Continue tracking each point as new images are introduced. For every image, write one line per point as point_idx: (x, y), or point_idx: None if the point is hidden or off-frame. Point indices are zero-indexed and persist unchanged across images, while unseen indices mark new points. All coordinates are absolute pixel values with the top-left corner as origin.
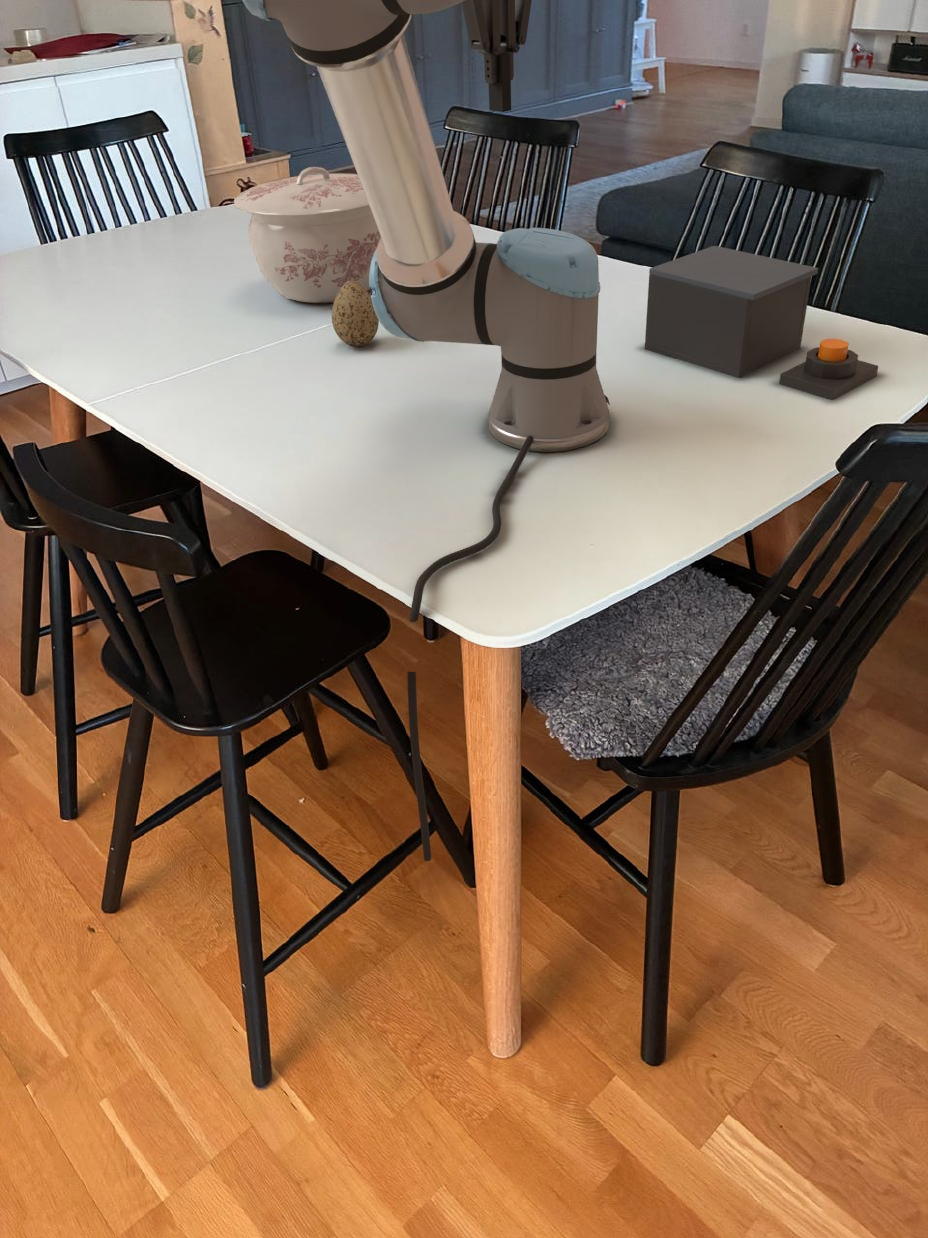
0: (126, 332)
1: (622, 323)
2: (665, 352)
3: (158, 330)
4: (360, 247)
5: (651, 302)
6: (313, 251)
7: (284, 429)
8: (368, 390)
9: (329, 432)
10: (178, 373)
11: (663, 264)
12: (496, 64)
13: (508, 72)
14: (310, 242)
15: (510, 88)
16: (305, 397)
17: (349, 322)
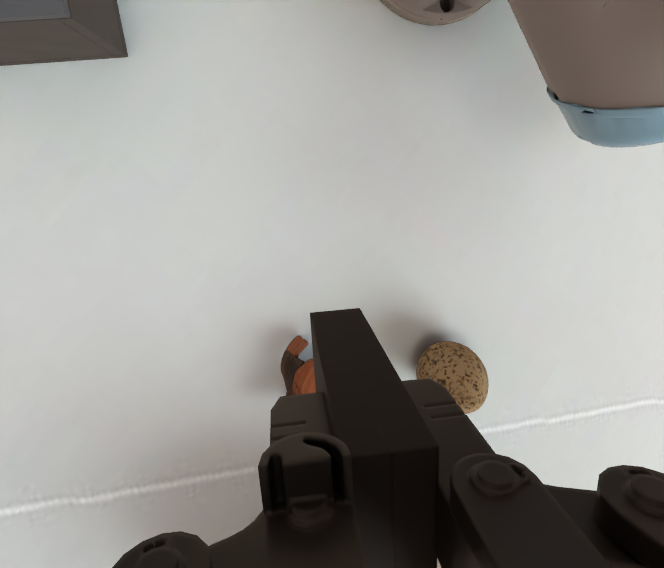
0: None
1: (84, 175)
2: (116, 4)
3: None
4: None
5: (93, 22)
6: None
7: (649, 186)
8: (518, 219)
9: None
10: (624, 411)
11: (19, 9)
12: (435, 434)
13: (346, 383)
14: (438, 565)
15: (320, 347)
16: (579, 253)
17: (476, 355)
